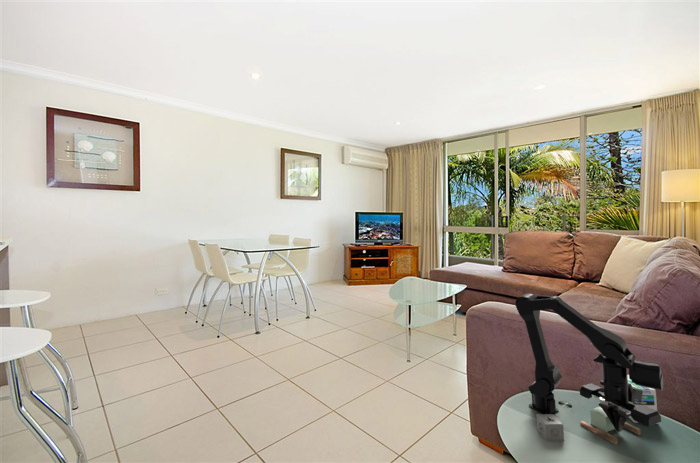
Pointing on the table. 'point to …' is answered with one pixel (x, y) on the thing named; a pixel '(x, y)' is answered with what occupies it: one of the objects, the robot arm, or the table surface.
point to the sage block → (601, 419)
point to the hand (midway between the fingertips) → (618, 431)
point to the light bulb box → (644, 397)
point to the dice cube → (550, 427)
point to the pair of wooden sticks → (607, 435)
